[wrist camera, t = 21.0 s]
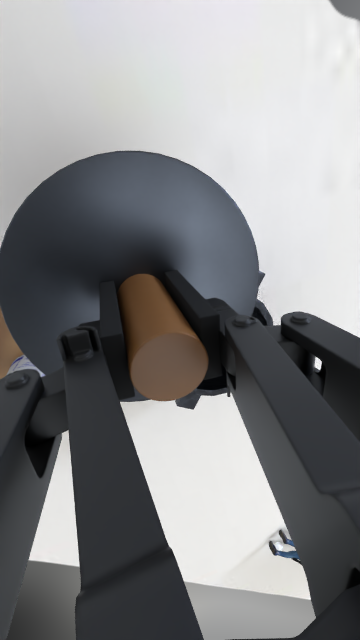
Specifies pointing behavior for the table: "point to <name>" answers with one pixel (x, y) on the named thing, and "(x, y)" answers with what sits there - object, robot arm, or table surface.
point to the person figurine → (278, 547)
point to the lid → (126, 262)
